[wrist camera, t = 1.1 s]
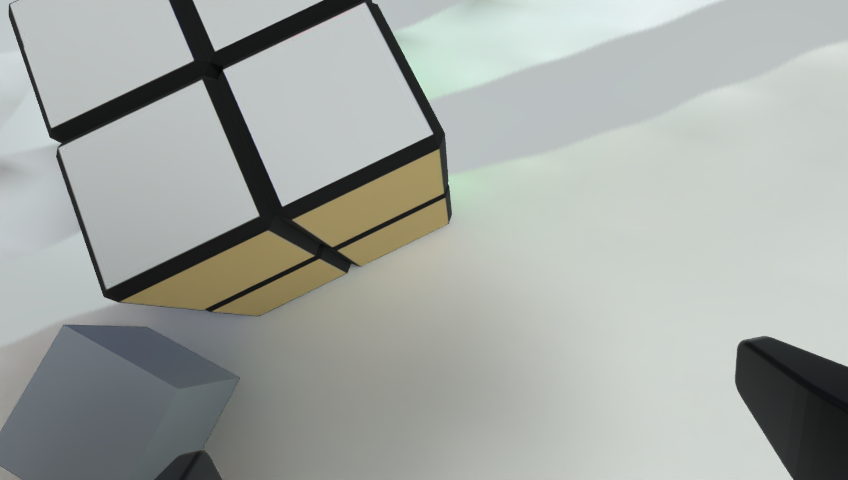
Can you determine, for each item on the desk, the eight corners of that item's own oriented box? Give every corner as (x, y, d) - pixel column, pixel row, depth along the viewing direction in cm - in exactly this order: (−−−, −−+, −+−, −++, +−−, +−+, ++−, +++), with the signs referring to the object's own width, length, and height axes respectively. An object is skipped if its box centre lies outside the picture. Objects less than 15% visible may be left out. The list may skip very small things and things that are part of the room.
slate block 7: (183, 485, 22) (102, 529, 17) (87, 428, 22) (-19, 454, 17) (240, 377, 22) (178, 389, 17) (145, 325, 23) (60, 322, 18)
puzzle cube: (180, 133, 25) (-5, 0, 15) (364, 45, 25) (302, -144, 15) (255, 320, 23) (99, 308, 13) (455, 222, 23) (451, 138, 13)
